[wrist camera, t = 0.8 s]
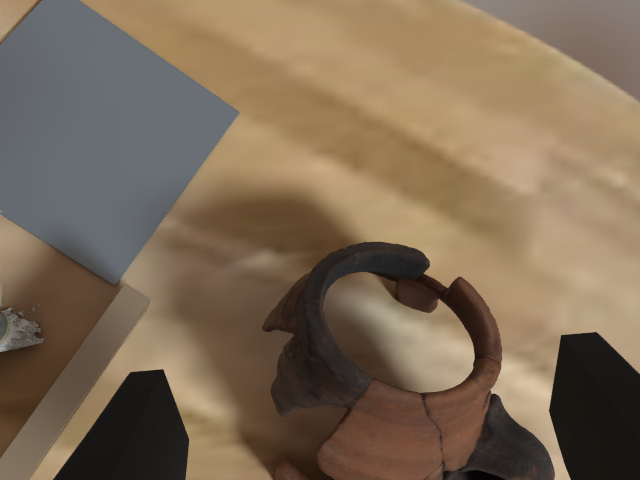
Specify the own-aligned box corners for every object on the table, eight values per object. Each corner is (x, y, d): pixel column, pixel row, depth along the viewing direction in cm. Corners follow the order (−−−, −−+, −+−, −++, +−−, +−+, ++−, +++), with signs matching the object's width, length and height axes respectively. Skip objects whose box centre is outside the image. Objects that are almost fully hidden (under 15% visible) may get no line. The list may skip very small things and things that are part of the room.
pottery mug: (194, 468, 24) (227, 355, 18) (293, 304, 31) (341, 184, 25) (475, 625, 23) (607, 559, 17) (514, 420, 29) (618, 323, 24)
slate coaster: (114, 286, 24) (114, 285, 24) (-96, 154, 23) (-99, 151, 22) (238, 114, 27) (239, 112, 26) (57, -12, 26) (56, -16, 25)
